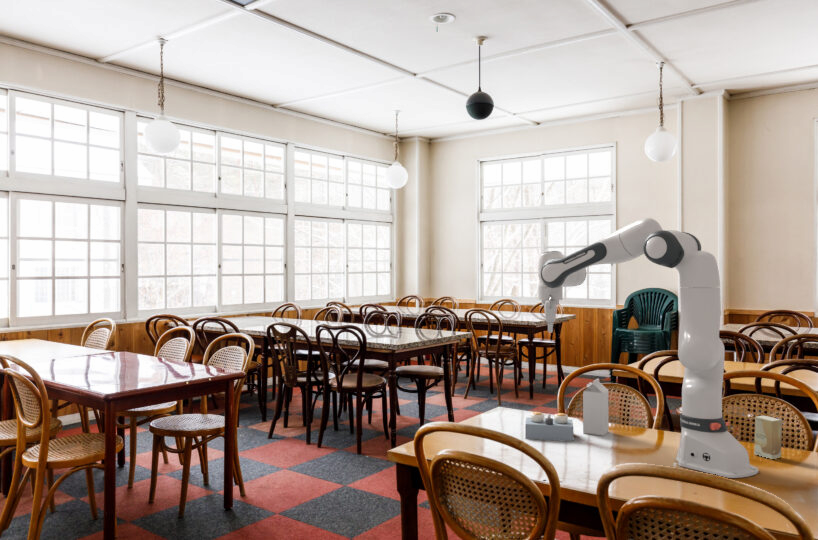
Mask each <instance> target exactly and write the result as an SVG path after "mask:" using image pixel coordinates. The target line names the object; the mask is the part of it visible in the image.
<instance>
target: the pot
mask: <svg viewBox="0 0 818 540" xmlns="http://www.w3.org/2000/svg"><path fill="white" fill-rule="evenodd" d="M551 415H552V414H551V413H548V414H547V417H544V418H545V424H546V425H553V419H554V418H551Z"/></svg>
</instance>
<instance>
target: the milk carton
mask: <svg viewBox="0 0 818 540" xmlns="http://www.w3.org/2000/svg"><path fill="white" fill-rule="evenodd" d="M586 387H587V388H586V389H585V390H583V391H582V395H583V396H582V397H583V398H582V405H583V406H582V420H583V421H582V428H583V429H582V433H583V434H586V435H595V436H596V435H597V436H602V437H603V436H605V435H606V434H607V433H609V389H608V388H607V387H606V386H604V385H603V383H601V382H600V378H599V377H598V378H595V379H594V380H593V381H592V382H591V381H590V382H588V383H587V384H586Z"/></svg>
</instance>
